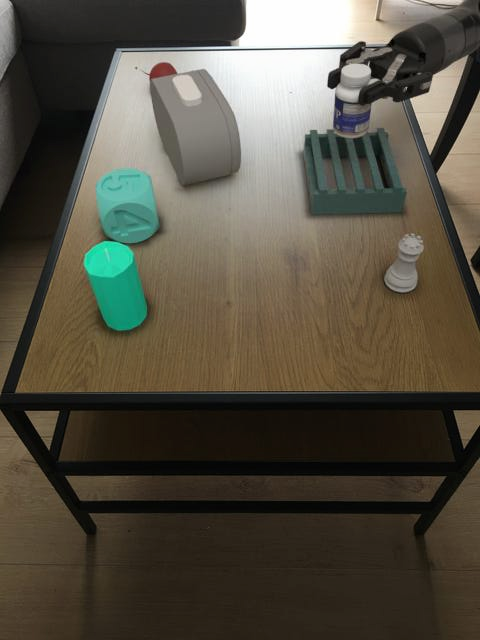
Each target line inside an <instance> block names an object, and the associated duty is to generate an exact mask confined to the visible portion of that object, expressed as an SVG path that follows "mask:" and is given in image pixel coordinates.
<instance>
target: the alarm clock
mask: <svg viewBox="0 0 480 640" xmlns="http://www.w3.org/2000/svg"><path fill="white" fill-rule="evenodd" d="M149 91H150V99H151V104H152V110H153V115H154V120H155V124H156V128H157V131H158V135H159V138H160V141H161V143H162V146H163V148H164V151H165V152H166V155H167V157H168V159H169V161H170V164H171V165H172V168H173V170H174V172H175V174H176V177H177V178H178V180H179V182H180V184H181V185H182V186H187V185H192V184H197V183H200V182H204V181H208V180H212V179H216V178H222V177H225V176H229V175H233V174H237V173H238V172H239V171H240V168H241V165H242V146H241V137H240V130H239V126H238V122H237V119H236V116H235V112H234V110H233V109H232V107H231V105H230V103H229V102H228V99H227V98H226V97H225V95H224V94H223V92H222V90H221V89H220V87H219V86H218V84H217V83H216V81H215V79H214V78H213V76H212V75H211V74H210V73H209V72H208V70H206V69H205V68H201V69H195V70H190V71H184V72H181V73H178V74H174V75H169V76H164V77H159V78H154V79H151V80H150V81H149Z"/></svg>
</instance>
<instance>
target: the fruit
mask: <svg viewBox="0 0 480 640" xmlns="http://www.w3.org/2000/svg"><path fill="white" fill-rule="evenodd" d="M134 69H135V70H137V69H138V66H135V67H134ZM140 71H141V72H143V73H144V74H145V75H148V81H149V82H150V80H151V79H154V78H159V77H164V76H169V75H174V74H179V73H178V71H177V70H176V68H175V67H174V66H173V65H172V64H171V62H167V61H163V62H158V63H156V64H155V65H153V67H152V68H151V70H150V72H149V73H148V72H145V71H143V70H142V69H140Z"/></svg>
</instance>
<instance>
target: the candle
mask: <svg viewBox="0 0 480 640" xmlns="http://www.w3.org/2000/svg"><path fill="white" fill-rule="evenodd" d="M83 266H84V269H85V273H86V275H87V278H88V281H89V284H90V286H91V289H92V291H93V294H94V297H95V299H96V302H97V305H98V308H99V311H100V313H101V316H102V318H103V320H104V323H105V324H106V326H107V327H108V328H110V329H113V330H115V331H119V332H120V331H130V330H132V329H135V328H136V327H138V326H141V324H142V323H143V322H144V321H145V319H146V318H147V315H148V306H147V301H146V298H145V294H144V290H143V286H142V282H141V278H140V273H139V270H138V265H137V262H136V257H135V254H134V252H133V251H132V249H131V248H130V247H129V246H128V245H125V244H124V243H122V242H118V241H111V240H104V241H102V242H100V243H98V244H96V245H94V246H92V247H91V248H90V250H89V251H88V252H86V253H85V255H84V260H83Z"/></svg>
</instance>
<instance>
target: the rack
mask: <svg viewBox="0 0 480 640" xmlns="http://www.w3.org/2000/svg"><path fill="white" fill-rule="evenodd" d="M376 156H377V157H379V162H380V165H381V167H382V168H381V169H382V171H383V175H384V178H385V181H386V186H387V188H385V186H384V183H383V181H382V176H381V173H380V170H379V166H378V163H377V159H376ZM341 157H345V158H346V157H348V161H349V165H350V170H351V175H352V179H353V183H354V188H353V189H350V188H349V189H347V186H346V185H347V184H346V181H345V176H344V172H343V167H342V166H343V165H342V161H341ZM359 157H365V159H366V163H367V166H368V169H369V174H370V177H371V182H372V185H373V188H366V187H365V183H364V182H365V181H364V179H363V175H362V170H361V166H360V163H359ZM323 158H330V161H331V165H332V170H333V174H334V175H333V176H334V180H335V181H334V182H335V185H336V189H328V184H327V179H326V173H325V167H324V161H323ZM303 161H304V169H305V176H306V182H307V187H308V188H307V190H308V196H309V203H310V210H311V211H310V212H311V215H312V216H317V215H318V216H319V215H321V216H322V215H324V216H325V215H355V214H357V215H359V214H362V215H363V214H390V213H392V214H396V213H402V212H403V209H404V204H405V201H406V197H407V195H408V194H407V193H408V190H407V188H406V187H403V184H402V181H401V177H400V175H399V171H398V168H397V165H396V161H395V158H394V154H393V153H392V149H391V146H390V143H389V132H388V131H386V129H385V127H376V129H375V132H374V131H371V132H369V130H368V131H367V133H366V134H365V135H363V136H361V137H358V138H344V137H341V136H339V135H337V134H336V133H335V132H334V130H333V128H328V129H326V133H319V132H318V129H309V133H308V134H307V133H305V134H304V142H303Z"/></svg>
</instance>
